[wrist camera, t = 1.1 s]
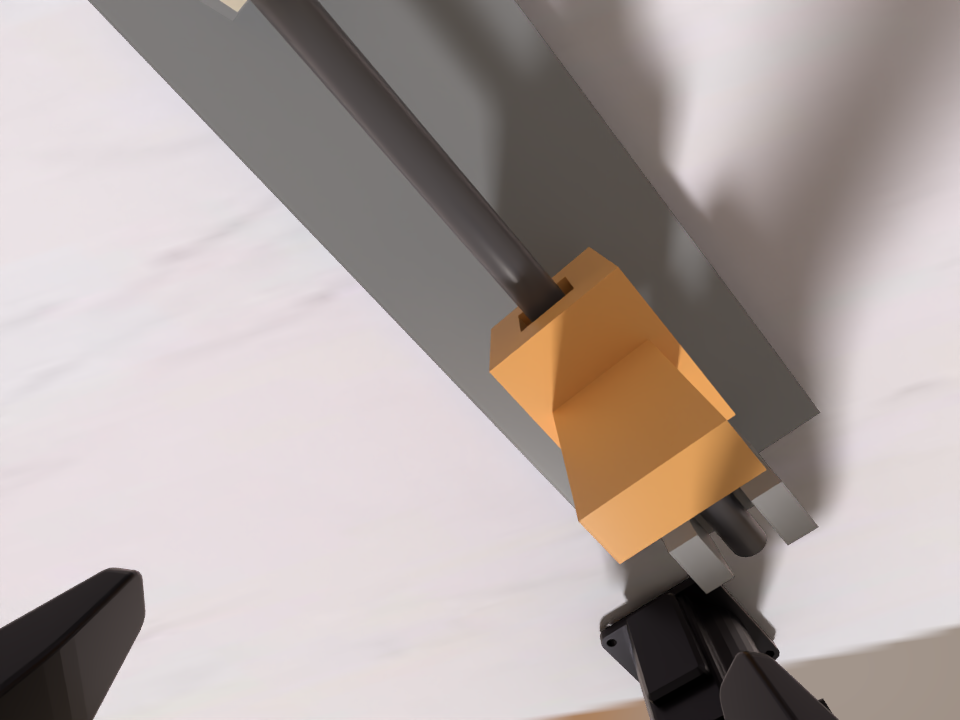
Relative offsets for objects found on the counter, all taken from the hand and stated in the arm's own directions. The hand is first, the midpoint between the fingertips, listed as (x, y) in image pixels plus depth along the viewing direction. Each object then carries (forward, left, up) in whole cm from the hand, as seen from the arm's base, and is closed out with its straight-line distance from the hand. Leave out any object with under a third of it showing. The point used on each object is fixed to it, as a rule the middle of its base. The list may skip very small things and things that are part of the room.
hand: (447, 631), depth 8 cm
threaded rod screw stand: (+4, -4, -14) cm, 15 cm away
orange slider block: (-2, -4, -10) cm, 11 cm away
